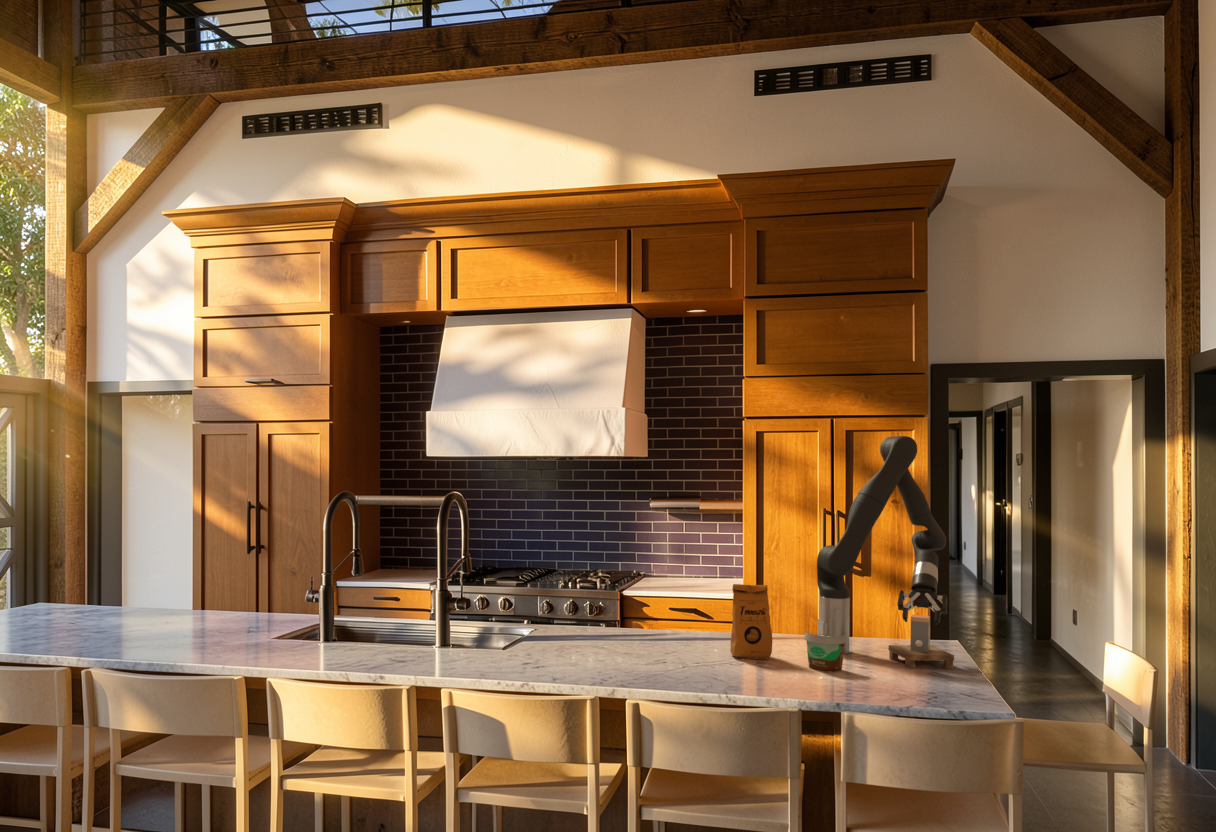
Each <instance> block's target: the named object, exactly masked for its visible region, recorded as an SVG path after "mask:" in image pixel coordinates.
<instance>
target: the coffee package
mask: <svg viewBox="0 0 1216 832" xmlns="http://www.w3.org/2000/svg"><path fill="white" fill-rule="evenodd" d="M768 588H769V587H768V584H741V583H733V584H732V589H731V590H732V593H733V596H732V599H733V600H732V627H731V633H730V634H731V635H730V637H731V638H730V653H731V655H732V656H734V657H736V658H742V659H754V660H770V659H771V658H770V657H771V655H772V653H773V630H772V626H771V616H770V614H771V613H770V604H769V594H768V591H769V589H768Z"/></svg>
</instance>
